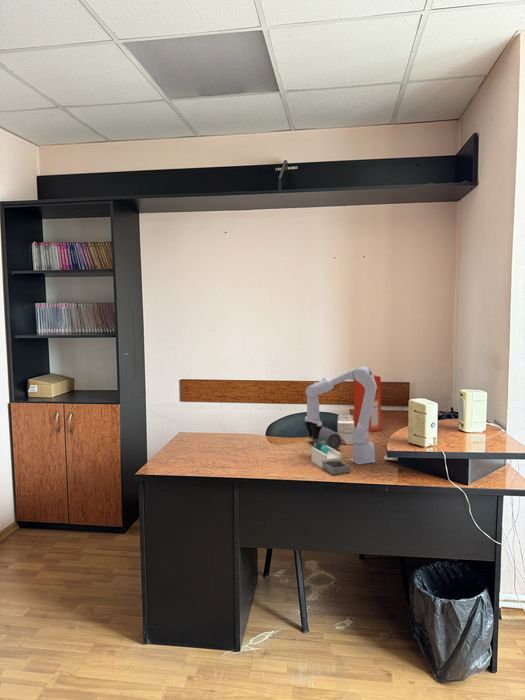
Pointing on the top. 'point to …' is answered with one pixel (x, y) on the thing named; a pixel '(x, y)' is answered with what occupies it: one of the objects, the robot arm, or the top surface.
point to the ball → (324, 449)
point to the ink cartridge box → (345, 429)
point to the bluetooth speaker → (329, 438)
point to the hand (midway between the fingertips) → (313, 437)
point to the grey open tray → (336, 468)
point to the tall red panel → (376, 409)
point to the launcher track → (324, 456)
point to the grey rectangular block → (319, 444)
